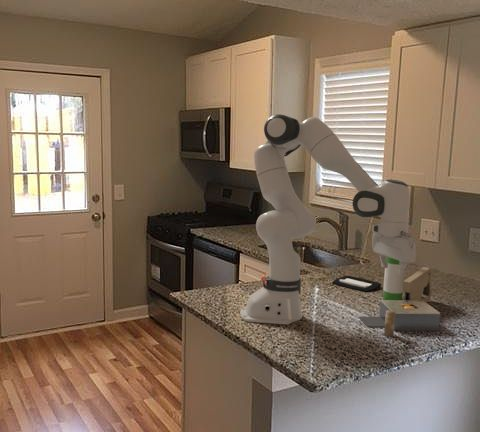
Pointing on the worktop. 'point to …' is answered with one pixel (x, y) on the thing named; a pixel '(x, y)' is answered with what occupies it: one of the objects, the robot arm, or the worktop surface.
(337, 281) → the light switch
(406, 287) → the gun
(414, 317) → the grey box with hole
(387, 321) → the tan rounded peg
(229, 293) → the worktop surface
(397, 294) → the wine bottle
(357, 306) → the worktop surface
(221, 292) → the worktop surface
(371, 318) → the mat
